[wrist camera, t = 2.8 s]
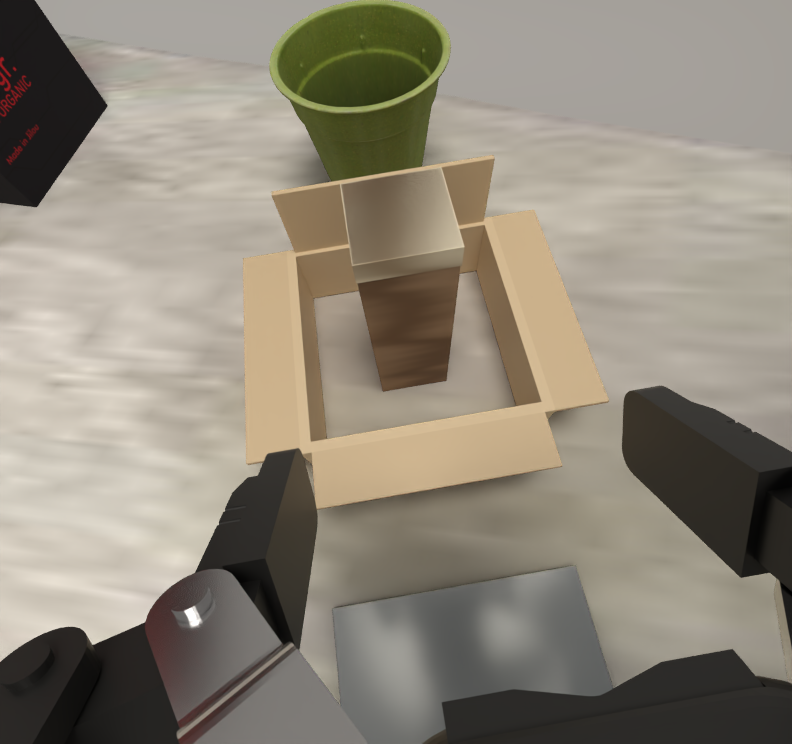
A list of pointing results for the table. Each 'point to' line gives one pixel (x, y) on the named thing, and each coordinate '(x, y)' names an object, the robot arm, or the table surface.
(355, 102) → the plant pot
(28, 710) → the robot arm
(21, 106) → the product box
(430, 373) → the walnut box
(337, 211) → the carton
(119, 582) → the table surface
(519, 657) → the coaster
